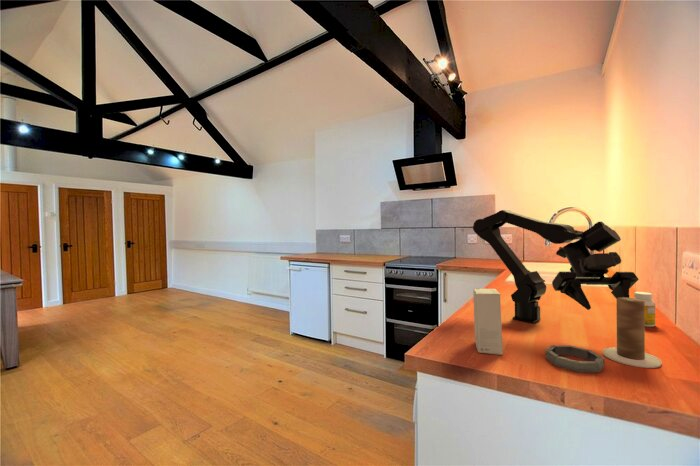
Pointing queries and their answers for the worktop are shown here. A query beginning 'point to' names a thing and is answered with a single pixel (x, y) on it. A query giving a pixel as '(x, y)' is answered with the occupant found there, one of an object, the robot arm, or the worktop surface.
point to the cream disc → (648, 362)
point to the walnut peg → (631, 328)
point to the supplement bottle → (647, 307)
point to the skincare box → (488, 321)
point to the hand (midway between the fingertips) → (609, 309)
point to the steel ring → (589, 366)
